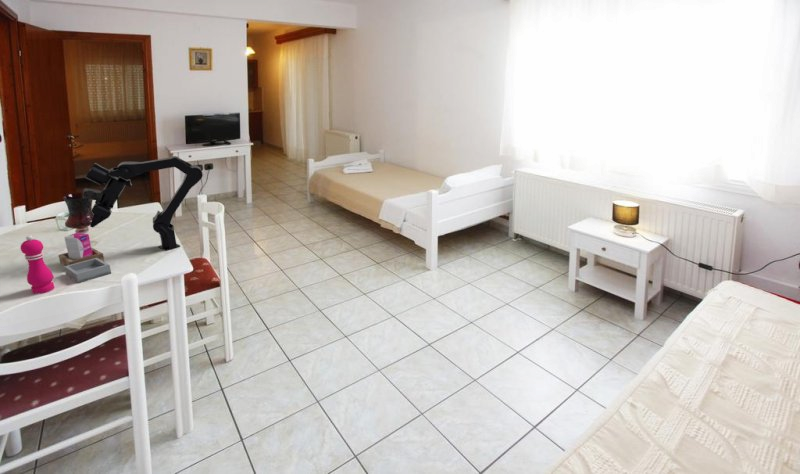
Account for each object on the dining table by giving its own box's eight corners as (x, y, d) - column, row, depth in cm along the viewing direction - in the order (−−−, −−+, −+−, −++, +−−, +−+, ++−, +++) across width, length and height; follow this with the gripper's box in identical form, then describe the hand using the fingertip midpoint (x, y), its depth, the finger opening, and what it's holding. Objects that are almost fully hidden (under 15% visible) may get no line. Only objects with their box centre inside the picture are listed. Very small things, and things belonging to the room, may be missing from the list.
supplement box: (82, 266, 179) (76, 238, 175) (69, 264, 180) (63, 237, 176) (94, 260, 185) (88, 233, 181) (82, 258, 186) (75, 232, 182)
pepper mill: (39, 285, 163) (24, 232, 156) (60, 284, 164) (47, 232, 157) (25, 294, 156) (9, 239, 149) (48, 294, 157) (33, 239, 150)
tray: (111, 273, 173) (109, 264, 172) (78, 283, 165) (76, 274, 164) (98, 265, 180) (96, 257, 178) (66, 275, 171) (64, 266, 170)
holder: (104, 261, 184) (102, 253, 182) (71, 270, 175) (69, 262, 174) (92, 254, 190) (90, 246, 189) (60, 263, 181) (58, 254, 180)
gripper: (93, 175, 187) (74, 208, 187) (88, 185, 171) (66, 221, 171) (122, 189, 193) (103, 220, 193) (119, 200, 177) (98, 234, 178)
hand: (92, 223), depth 184 cm, fingers open, 9 cm apart
